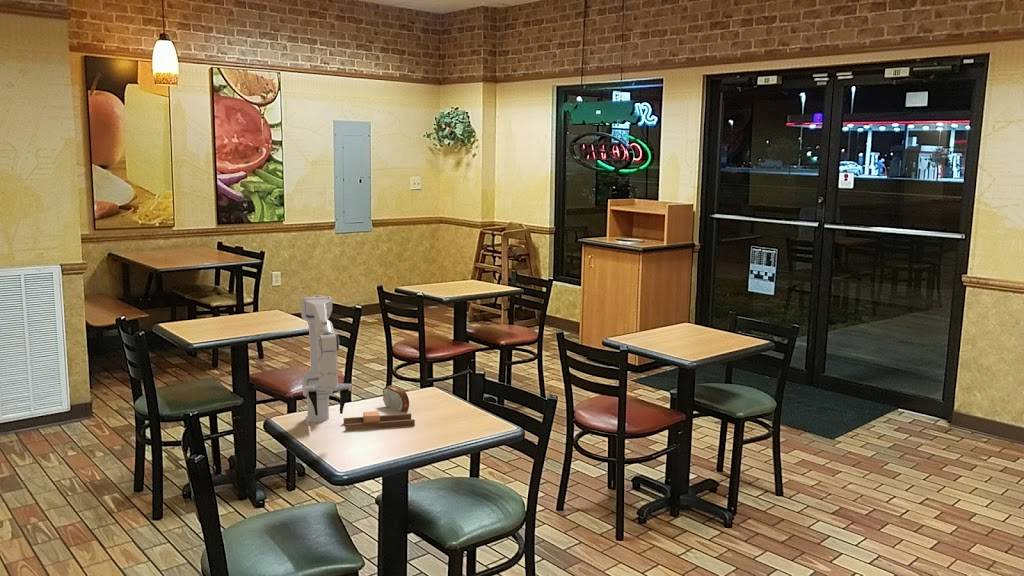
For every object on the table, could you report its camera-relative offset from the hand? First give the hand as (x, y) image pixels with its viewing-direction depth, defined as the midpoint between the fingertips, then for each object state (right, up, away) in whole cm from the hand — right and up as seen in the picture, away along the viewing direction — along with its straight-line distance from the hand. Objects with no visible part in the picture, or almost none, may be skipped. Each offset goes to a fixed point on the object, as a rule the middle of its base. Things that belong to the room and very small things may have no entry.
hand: (328, 413), depth 258 cm
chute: (+13, -8, +19) cm, 24 cm away
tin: (+15, -5, +40) cm, 43 cm away
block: (+11, -7, +18) cm, 22 cm away
